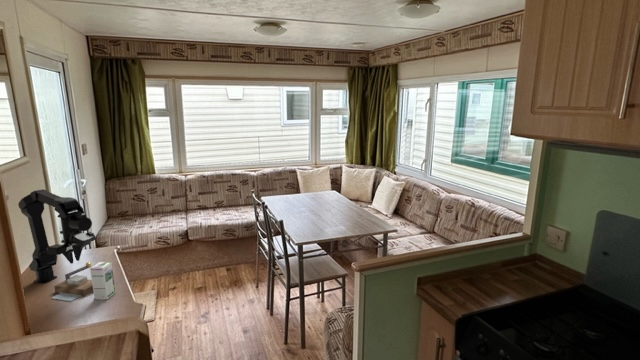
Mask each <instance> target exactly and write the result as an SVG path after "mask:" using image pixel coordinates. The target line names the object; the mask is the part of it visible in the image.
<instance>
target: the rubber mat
mask: <svg viewBox="0 0 640 360" xmlns="http://www.w3.org/2000/svg"><path fill="white" fill-rule="evenodd" d="M80 297H82V296H81V295H77V294H70V293H63V292H62V293H58V294H56V295H54V296H52V297H51V298H53V299H52V300H56V299H58V300H57V301H63V302H70V303H71V302H73V301H75V300H77V299H78V298H80Z"/></svg>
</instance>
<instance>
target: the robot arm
mask: <svg viewBox="0 0 640 360" xmlns="http://www.w3.org/2000/svg"><path fill="white" fill-rule="evenodd" d="M17 203H18V208H19V209H20V211H21V214H23V216H25V217H26V218H27V221H28V225H29V228H30V233H31V237H32V241H33V244H34V250H33V253H32V255H31V256H32V260H31V262H30V264H29V265H28V268H29V270H30V271H32V272H35V277H36V279H34V280H33V283H38V284H39V283H40V284H45V283H48V282H50V281H52V280H54V279H57V278H58V275H57V276H56V275H54V274H55V272H54V270H53V268H54V267H53V266H56V265H57V262H58V256H59V255H63V256H64V258H65V259H66V260H67V261H68V262H69V263H70V264H74V258H75V260H76V261H77V262H79V261H80V259H81V255H82V252H83V249H84V248H85V247H86V246H87V245H91V244H92V242H93V241H95V240H96V234H95V233H94V231H89V230H90V229H91V228H92V226H93V221H92V219H91V218H89V217H88V216H87V215H86V213H85V210H84V208H83V207H82V206H81V204H80V202H79V201H78V200H77V198H75V197H68V196H67V197H62V196H61V195H57V194H55V193H52V192H50V191H48V190H47V189H45V188H43V189H37V190H33V191H31V192H30V193H29V194H27V195H26V196H24V197H22V198H21V199H20V200H19V202H17ZM45 205H48V206H51V207H53V209H54V211H55V212H56V213H58V215H57V218H60V223H61V224H60V225H61V230H60V231H59V234H61V235H62V237H63V239H62V240H61V243H62V244H57V243H55V244H53V245H49V241H48V237H47V233H46V229H45V225H44V221H43V217H42V215H43V212H44V210H45ZM88 231H89V232H88ZM83 232H84V233H83ZM73 254H74V255H73Z"/></svg>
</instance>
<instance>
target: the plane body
mask: <svg viewBox="0 0 640 360" xmlns="http://www.w3.org/2000/svg"><path fill="white" fill-rule="evenodd" d="M53 287H54V292H55V293H59V292H60V293H62V292H63V293H70V294H77V295H81V296H80V297H87V296H88V295H90V294H92V293H94V292H93V285H92V279H87V282H86V283H84V284H82V285H81V286H79V287H78V286H71V285H67V282H66V279H64V280H62V281H61V282H59V283H56V284H55V285H54V286H53ZM60 293H59V294H60Z"/></svg>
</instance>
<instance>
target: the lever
mask: <svg viewBox="0 0 640 360" xmlns="http://www.w3.org/2000/svg"><path fill="white" fill-rule="evenodd" d="M91 267H92V262H90V261H88V262H86V263H85V266H82V267H79V268H78V269H75V270H73V271H70V272H68V273H66V274H65V275H64V280H66V282H67V279H69V278H71V277H72V276H74V275H77V273H80V272H82V271H84V270H87V269H90V268H91Z"/></svg>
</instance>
